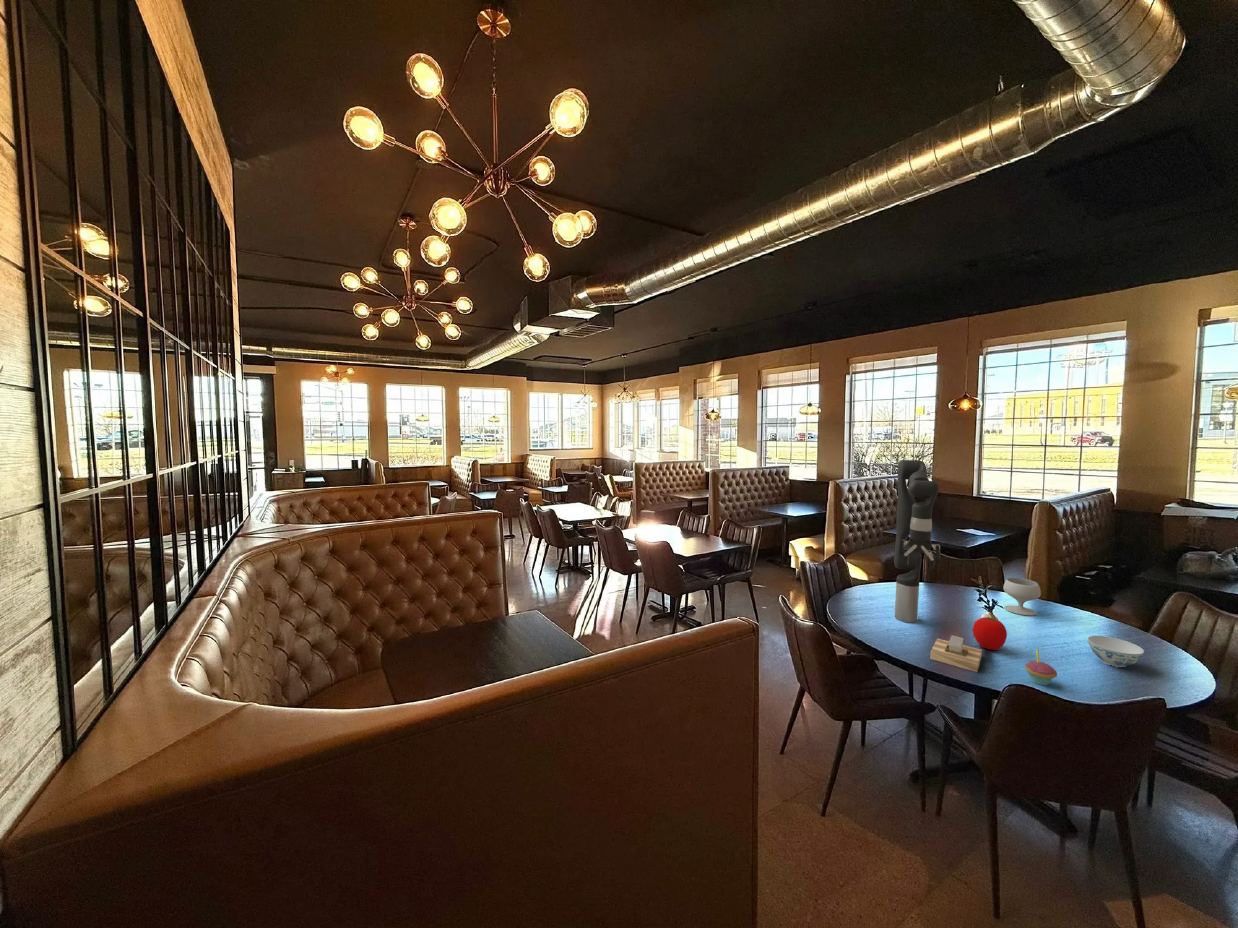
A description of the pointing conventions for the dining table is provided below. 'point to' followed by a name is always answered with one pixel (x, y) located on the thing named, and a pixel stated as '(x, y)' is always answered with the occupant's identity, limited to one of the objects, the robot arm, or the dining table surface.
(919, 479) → the robot arm
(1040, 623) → the dining table surface
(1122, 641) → the chinaware
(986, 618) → the tomato
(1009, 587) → the chalice
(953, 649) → the grey stepped wood block
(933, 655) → the well block
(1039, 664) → the cupcake
